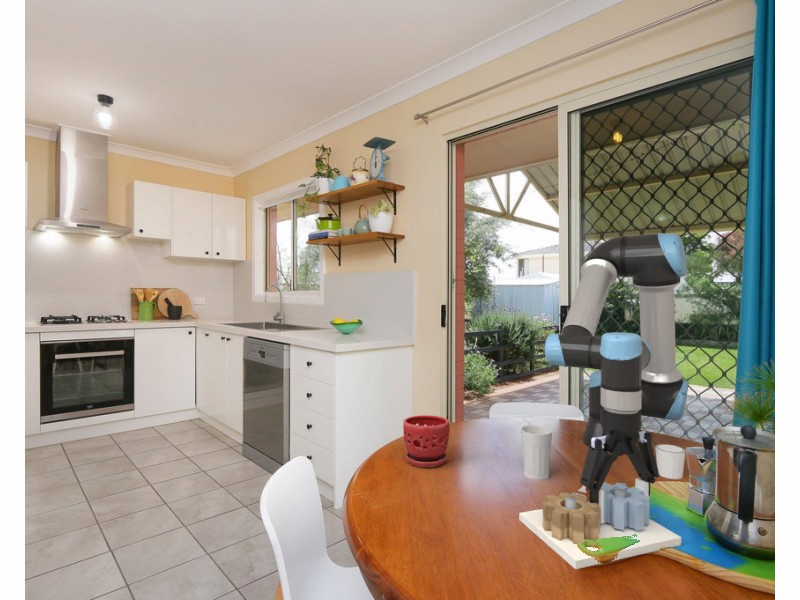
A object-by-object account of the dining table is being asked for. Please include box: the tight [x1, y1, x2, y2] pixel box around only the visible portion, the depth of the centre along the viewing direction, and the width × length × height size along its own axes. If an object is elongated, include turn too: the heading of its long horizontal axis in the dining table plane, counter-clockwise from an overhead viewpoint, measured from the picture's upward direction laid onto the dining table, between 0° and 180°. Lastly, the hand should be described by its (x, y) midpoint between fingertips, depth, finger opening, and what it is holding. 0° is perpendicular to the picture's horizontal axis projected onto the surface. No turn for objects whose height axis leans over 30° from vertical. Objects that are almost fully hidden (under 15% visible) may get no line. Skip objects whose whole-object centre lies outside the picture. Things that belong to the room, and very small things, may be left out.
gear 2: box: [601, 481, 650, 530], centre depth 94 cm, size 10×10×5 cm
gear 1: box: [542, 492, 600, 544], centre depth 91 cm, size 10×10×5 cm
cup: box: [520, 424, 553, 481], centre depth 121 cm, size 8×8×12 cm
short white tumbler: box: [655, 443, 686, 480], centre depth 120 cm, size 7×7×7 cm
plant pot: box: [402, 414, 450, 469], centre depth 131 cm, size 13×13×12 cm
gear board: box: [518, 489, 682, 570], centre depth 93 cm, size 24×18×8 cm
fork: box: [569, 485, 588, 497], centre depth 115 cm, size 3×24×2 cm, turn 142°
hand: (620, 515), depth 94 cm, fingers closed on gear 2, 10 cm apart
